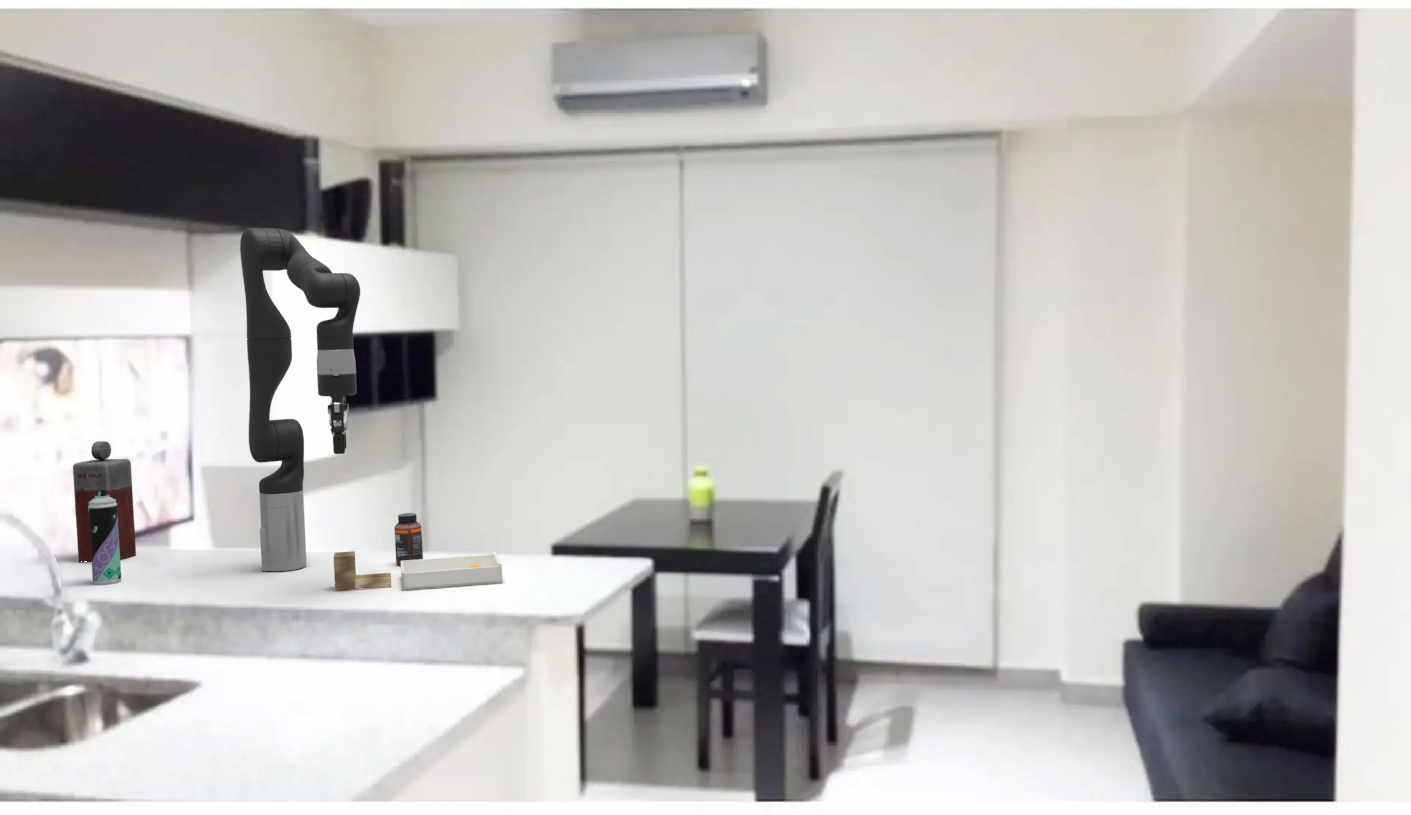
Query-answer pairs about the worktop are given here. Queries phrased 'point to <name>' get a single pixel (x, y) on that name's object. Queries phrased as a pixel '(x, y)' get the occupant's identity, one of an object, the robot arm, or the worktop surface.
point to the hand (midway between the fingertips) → (340, 451)
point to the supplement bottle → (408, 538)
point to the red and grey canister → (118, 486)
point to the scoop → (348, 577)
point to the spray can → (104, 539)
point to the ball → (475, 566)
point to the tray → (450, 572)
